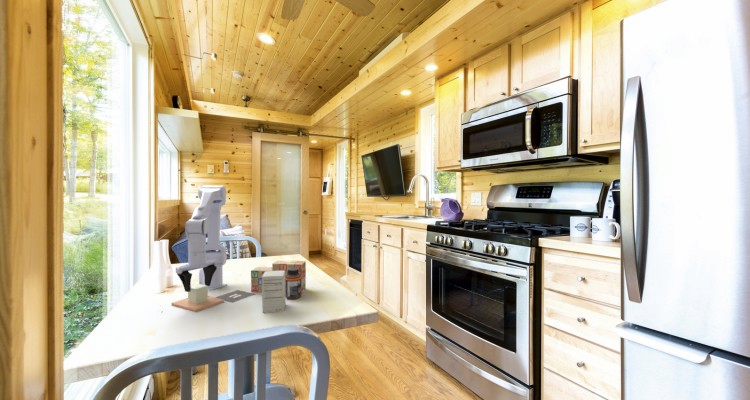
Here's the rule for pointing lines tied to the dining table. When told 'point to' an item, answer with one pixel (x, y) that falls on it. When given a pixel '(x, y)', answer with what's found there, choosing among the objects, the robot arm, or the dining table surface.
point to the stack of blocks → (278, 266)
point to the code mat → (235, 296)
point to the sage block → (198, 294)
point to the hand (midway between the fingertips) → (197, 288)
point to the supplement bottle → (293, 284)
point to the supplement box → (273, 291)
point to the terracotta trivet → (197, 307)
